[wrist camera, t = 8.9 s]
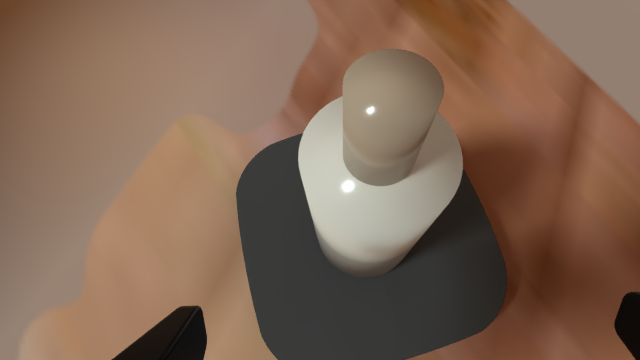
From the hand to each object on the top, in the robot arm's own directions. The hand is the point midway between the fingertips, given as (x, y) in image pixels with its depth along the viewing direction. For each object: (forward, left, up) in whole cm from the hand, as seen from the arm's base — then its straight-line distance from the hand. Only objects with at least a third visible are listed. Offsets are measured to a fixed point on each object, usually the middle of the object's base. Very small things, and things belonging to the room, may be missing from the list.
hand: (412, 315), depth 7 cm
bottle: (+5, +1, -11) cm, 12 cm away
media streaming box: (+5, +1, -14) cm, 15 cm away
